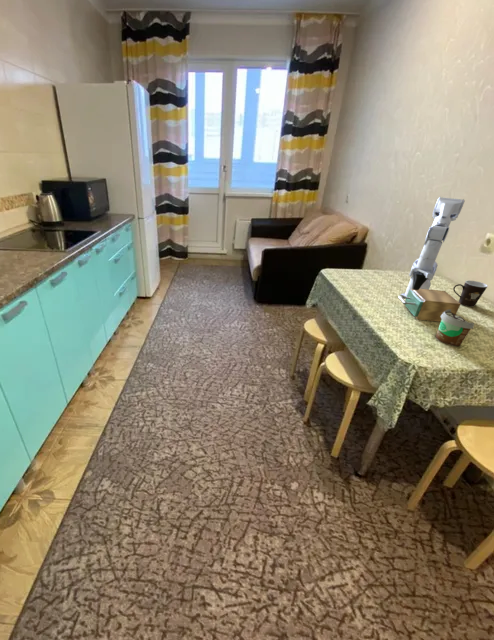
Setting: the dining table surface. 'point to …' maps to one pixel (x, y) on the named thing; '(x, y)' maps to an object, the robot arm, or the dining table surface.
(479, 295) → the coffee mug
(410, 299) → the drawer
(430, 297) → the cabinet
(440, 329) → the food container
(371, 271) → the dining table surface
